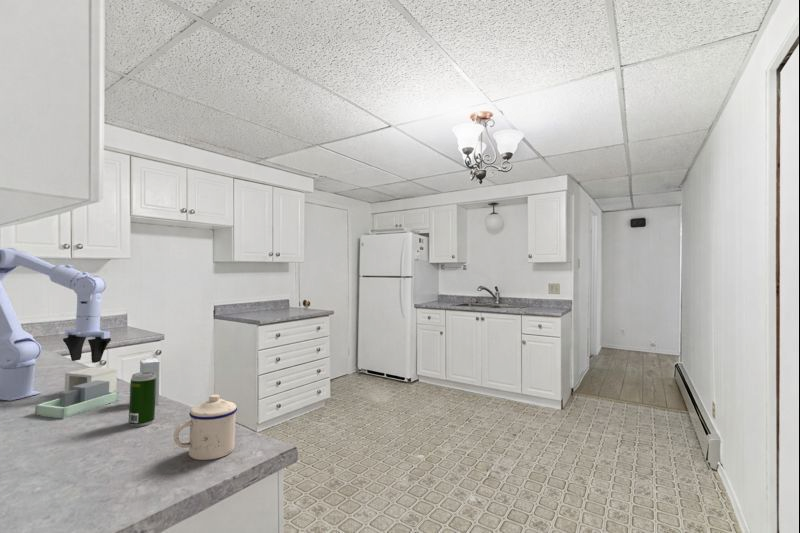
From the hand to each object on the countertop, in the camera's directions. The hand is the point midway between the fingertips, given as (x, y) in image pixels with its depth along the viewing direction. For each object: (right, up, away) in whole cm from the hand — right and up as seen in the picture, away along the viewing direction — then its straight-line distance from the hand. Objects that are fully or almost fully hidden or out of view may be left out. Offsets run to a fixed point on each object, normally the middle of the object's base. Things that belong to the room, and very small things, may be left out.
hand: (86, 361), depth 118 cm
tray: (+7, -10, -12) cm, 17 cm away
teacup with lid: (+54, -11, -37) cm, 66 cm away
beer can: (+31, -10, -22) cm, 39 cm away
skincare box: (+23, -11, -6) cm, 26 cm away
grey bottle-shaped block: (+8, -9, -11) cm, 16 cm away
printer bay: (0, -10, +2) cm, 10 cm away
